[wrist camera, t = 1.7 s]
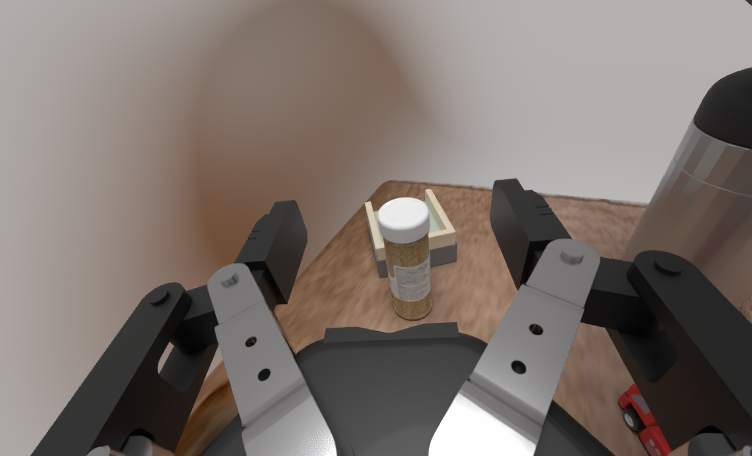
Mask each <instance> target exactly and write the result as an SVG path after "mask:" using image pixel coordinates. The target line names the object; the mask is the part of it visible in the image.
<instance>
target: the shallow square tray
mask: <svg viewBox="0 0 752 456" xmlns="http://www.w3.org/2000/svg"><path fill="white" fill-rule="evenodd" d="M425 200H426V201H423V203H425V204H426V206H427V207H428V209H429V216H430V229H429V233H428V237H429V249H430V267H432V266H437V265H441V264H446V263H450V262H455V261H456V254H457V243H456V242H455V236H456V232H455V230H454V228H453V227H452V225H451V223H450V221H449V220H448V218H447V216H446V215H445V213H444V211H443V209H442V208H441V206H440V204H439V203H438V201H437V199H436V197H435V196H434V194H433V192H432V191H431V189H427V190H425ZM365 205H366V210H367V214H366V217H367V222H368V227H369V232H370V236H371V240H372V245H373V249H374V254H375V258H376V263H377V267H378V271H379V276H380V278H382V277H386V276H388V269H387V263H386V254H385V248H384V241H383V237H382V235H381V234H380V230H379V225H378V218H377V215H378V211H375V212H373V209H372V206H371V202H366V203H365Z"/></svg>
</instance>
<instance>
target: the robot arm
mask: <svg viewBox="0 0 752 456" xmlns="http://www.w3.org/2000/svg"><path fill="white" fill-rule="evenodd" d="M746 1H747V2H748V3H749V4H750V5H752V0H746ZM490 222H491V227H492V230H493V232H494V235H495V237H496V239H497V242H498V244H499V247H500V249H501V252H502V254H503V257H504V259H505V261H506V264H507V266H508V269H509V271H510V274H511V276H512V279H513V281H514V283H515V286H516V288H517V291H518V292H517V294H516V295H515V297H514V299H513V301H512V303H511V304H510V306H509V308H508V310H507V311H506V313H505V315H504V317H503V319H502V320H501V322H500V324H499V326H498V328H497V329H496V331H495V333H494V335H493V337H492V338H491V340H490V342H489V344H487V343H486V342H484V341H482V340H480V339H478V338H476V337H473V336H470V335H467V334H464V333H459V332H458V327H457V322H450V323H429V324H421V325H417V326H414V327H410V328H407V329H403V330H400V331H396V332H393V333H385V332H380V331H375V330H370V329H365V328H360V327H344V328H326V330H325V336H324V339H321V340H319V341H316V342H314V343H312V344H310V345H308V346H306V347H305V348H303V349H302V350H300V351H299V352H298V353H297V354H296V352H295V350H294V348H293V347H292V345H291V343H290V341H289V339H288V337H287V335H286V333H285V331H284V329H283V328H282V326H281V324H280V322H279V320H278V318H277V316H276V314H275V313H274V309H275V306H276V305H278V304H288V300H289V297H290V294H291V291H292V288H293V285H294V282H295V278H296V275H297V272H298V269H299V266H300V263H301V260H302V256H303V253H304V250H305V247H306V244H307V230H306V227H305V224H304V221H303V219H302V216H301V213H300V210H299V208H298V205H297V203H296V201H294V200H288V201H279V202H275V204H274V206H273V207H272V209H271V211H270V213H269V214H266V215H264V216H263V217H262V218H261V219H260V220H259V221H258V222H257V223H256V224H255V226H254V228H253V230H252V233H250V235H249V237H248V240H247V241H246V243H245V244H244V246H243V248H242V250H241V252H240V253H239V255H238V257H237V259H236V260H235V262H234V264H231V265H228V266H225V267H223V268H222V269H220V270H218V271H217V272H216V273H215V274H214V275H213V276H212V277H211V278H210V280H209V282H208V284H207V285H204V286H201V287H198V288H195V289H192V290H188V291H186V290H185V289H184V287H183V286H182V285H181V284H179V283H175V282H174V283H167V284H164V285H162V286H159V287H157V288H155V289H154V290H152V291H151V292H150V293H148V294H147V295H146V296H145V297H144V298H143V299H142V300H141V302H140V303H139V305H138V306H137V307H136V309H135V310H134V312H133V313H132V314H131V316H130V317H129V319H128V320H127V322H126V323H125V324H124V326H123V327H122V328H121V330H120V331H119V333H118V334H117V335H116V337H115V338H114V340H113V341H112V342H111V344H110V345H109V347H108V348H107V349H106V351H105V352H104V354H103V355H102V356H101V358H100V359H99V361H98V362H97V363H96V365H95V366H94V368H93V369H92V371H91V372H90V373H89V375H88V376H87V377H86V379H85V380H84V382H83V383H82V384H81V386H80V387H79V389H78V390H77V391H76V393H75V394H74V396H73V397H72V398H71V400H70V401H69V403H68V404H67V406H66V407H65V408H64V410H63V411H62V412H61V414H60V415H59V417H58V418H57V419H56V421H55V422H54V424H53V425H52V426H51V428H50V429H49V431H48V432H47V434H46V435H45V436H44V438H43V439H42V440H41V442H40V443H39V445H38V446H37V447H36V449H35V450H34V452H33V453H32V454H31V456H174V452H175V449H176V447H177V445H178V442H179V440H180V437H181V435H182V432H183V430H184V428H185V425H186V423H187V420H188V418H189V415H190V413H191V411H192V408H193V406H194V403H195V401H196V398H197V396H198V394H199V391H200V389H201V386H202V384H203V381H204V379H205V377H206V374H207V372H208V369H209V367H210V364H211V362H212V360H213V357H214V355H215V352H216V350H217V347H218V345H219V347H220V350H221V353H222V356H223V360H224V364H225V367H226V370H227V374H228V377H229V380H230V384H231V387H232V391H233V394H234V397H235V401H236V404H237V407H238V411H239V413H238V414H237V415H236V416H235V417H234V419H233V420H232V421H231V422H230V423H229V424H228V425H227V426H226V427H225V428H224V429H223V430H222V431H221V432H220V433H219V434H218V435H217V436H216V437H215V438H214V439H213V441H212V442H211V443H210V444H209V445H208V446H207V447H206V448H205V449H204V450H203V451H202V452H201V453H200V454H199V455H198V456H615V455H614V454H613V453H612V452H611V451H609V450H608V449H607V448H606V447H605V446H604V445H603V444H602V443H600V442H599V441H598V440H597V439H596V438H595V437H594V436H593V435H592V434H590V433H589V432H588V431H587V430H586V429H585V428H584V427H583V426H582V425H580V424H579V423H578V422H577V421H576V420H575V419H574V418H573V417H572V416H570V415H569V414H568V413H567V412H566V411H565V410H564V409H563V408H561V407H560V406H559V405H558V404H557V403H556V402H555V401H554V400H553V399H552V398H553V395H554V392H555V390H556V387H557V384H558V381H559V379H560V376H561V373H562V370H563V368H564V365H565V362H566V359H567V356H568V354H569V351H570V348H571V345H572V343H573V340H574V337H575V334H576V331H577V329H578V326H579V323H580V322H582V323H586V324H591V325H595V326H600V327H605V329H606V330H607V332H608V334H609V336H610V338H611V340H612V341H613V343H614V345H615V347H616V349H617V351H618V353H619V354H620V356H621V358H622V360H623V362H624V364H625V365H626V367H627V369H628V371H629V373H630V375H631V377H632V378H633V380H634V382H635V384H636V386H637V388H638V389H639V391H640V393H641V395H642V397H643V399H644V401H645V402H646V404H647V406H648V408H649V410H650V412H651V413H652V415H653V417H654V419H655V421H656V423H657V425H658V426H659V428H660V430H661V432H662V434H663V436H664V437H665V439H666V441H667V443H668V445H669V447H670V449H671V450H672V452H670V453H669V454H668V455H667V456H752V324H751V323H750V322H749V321H748V320H747V319H746V318H745V317H744V316H743V315H742V314H741V313H740V312H739V311H738V310H737V308H738V307H739V306H740V305H741V304H742V303H743V302H744V301H745V300H746V299H747V298H748V297H749V296H751V295H752V68H747V69H744V70H741V71H737V72H735V73H732V74H730V75H727V76H725V77H724V78H722V79H720V80H719V81H718V82H716V83H715V84H714V85H713V86H712V87H711V88H710V90H708V92H707V94H706V95H705V97H704V98H703V100H702V102H701V104H700V106H699V108H698V110H697V112H696V114H695V116H694V118H693V119H692V121H691V124H690V125H689V127H688V129H687V131H686V133H685V135H684V137H683V139H682V141H681V143H680V145H679V146H678V148H677V151H676V153H675V155H674V157H673V159H672V160H671V162H670V165H669V166H668V168H667V170H666V172H665V174H664V176H663V178H662V180H661V182H660V184H659V186H658V187H657V190H656V191H655V193H654V195H653V197H652V199H651V201H650V203H649V205H648V207H647V209H646V211H645V213H644V215H643V216H642V218H641V220H640V222H639V224H638V226H637V228H636V230H635V232H634V234H633V236H632V238H631V240H630V242H629V243H628V245H627V247H626V249H625V251H624V253H623V255H622V257H621V259H620V260H615V259H608V258H603V257H599V254H598V253H597V252H596V251H595V250H594V249H593V248H592V247H591V246H589V245H587V244H585V243H583V242H581V241H577V240H573V239H572V238H571V236H570V235H569V234H568V232H567V231H566V229H565V228H564V227H563V225H562V224H561V222H560V221H559V219H558V218H557V217H556V215H554V212H553V211H552V209H551V208H549V205H548V204H547V202H546V201H545V199H544V198H543V197H542V196H540V195H539V194H537V193H536V192H534V191H533V190H525V191H524V189H523V188H522V186H521V184H520V183H519V181H518V180H517V179H505V180H496V181H495V182H494V185H493V193H492V202H491V210H490ZM169 342H170V343H171V344H173V345H174V347H173V349H172V351H171V353H170V355H169V357H168V359H167V360H166V362H165V364H164V366H163V368H162V370H161V371H160V373H159V374H158V362H159V360H160V358H161V356H162V354H163V352H164V350H165V349H166V347H167V345H168V343H169Z"/></svg>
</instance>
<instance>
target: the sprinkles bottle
mask: <svg viewBox="0 0 752 456" xmlns="http://www.w3.org/2000/svg"><path fill="white" fill-rule="evenodd" d="M377 218H378V225H379V230H380V234H381V235H382V237H383V241H384V248H385V254H386V263H387V269H388V276H389V282H390V288H391V291H392V295H393V307H394V309H395V311H396V312H397V314H398V315H400V316H401V317H403V318H406V319H410V320H411V319H420V318H422V317H424V316H426V315H427V314H428V313H429V312H430V310H431V308H432V298H431V291H430V289H431V270H430V249H429V237H428V233H429V229H430V216H429V209H428V207H427V206H426V204H425V203H423V202H422V201H420V200H418V199H414V198H397V199H394V200H391V201H389V202H387V203H385V204H384V205H383V206H382V207H381V208H380V210H379V211H378V215H377Z"/></svg>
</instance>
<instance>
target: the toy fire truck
mask: <svg viewBox="0 0 752 456" xmlns="http://www.w3.org/2000/svg"><path fill="white" fill-rule="evenodd" d="M619 404H620V405H621V407H622V408H623V409H625V410H624V411H623V418H624V420H625V422H626V424H627V426H628V427H629V428H630V429H631V430H633V431H638V432H639V437H640V439H641V440H642V442H643V444H644V445H645V447H646V449H647V451H648V452H649V454H650V455H651V456H667V455H668V454H669V453H670V452H672V450H671V449H670V447H669V445H668V443H667V441H666V439H665V437H664V436H663V434H662V432H661V430H660V428H659V426H658V425H657V423H656V421H655V419H654V417H653V415H652V413H651V412H650V410H649V408H648V406H647V404H646V402H645V401H644V399H643V397H642V395H641V393H640V391H639V389H638V388H637V386H636V384H635V383H634V384H633V385H632V386H631V387H630V388H629V389H628V390H627V391H626V392H625V393H624V394H623V395H622V396H621V397H620V399H619Z"/></svg>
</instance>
